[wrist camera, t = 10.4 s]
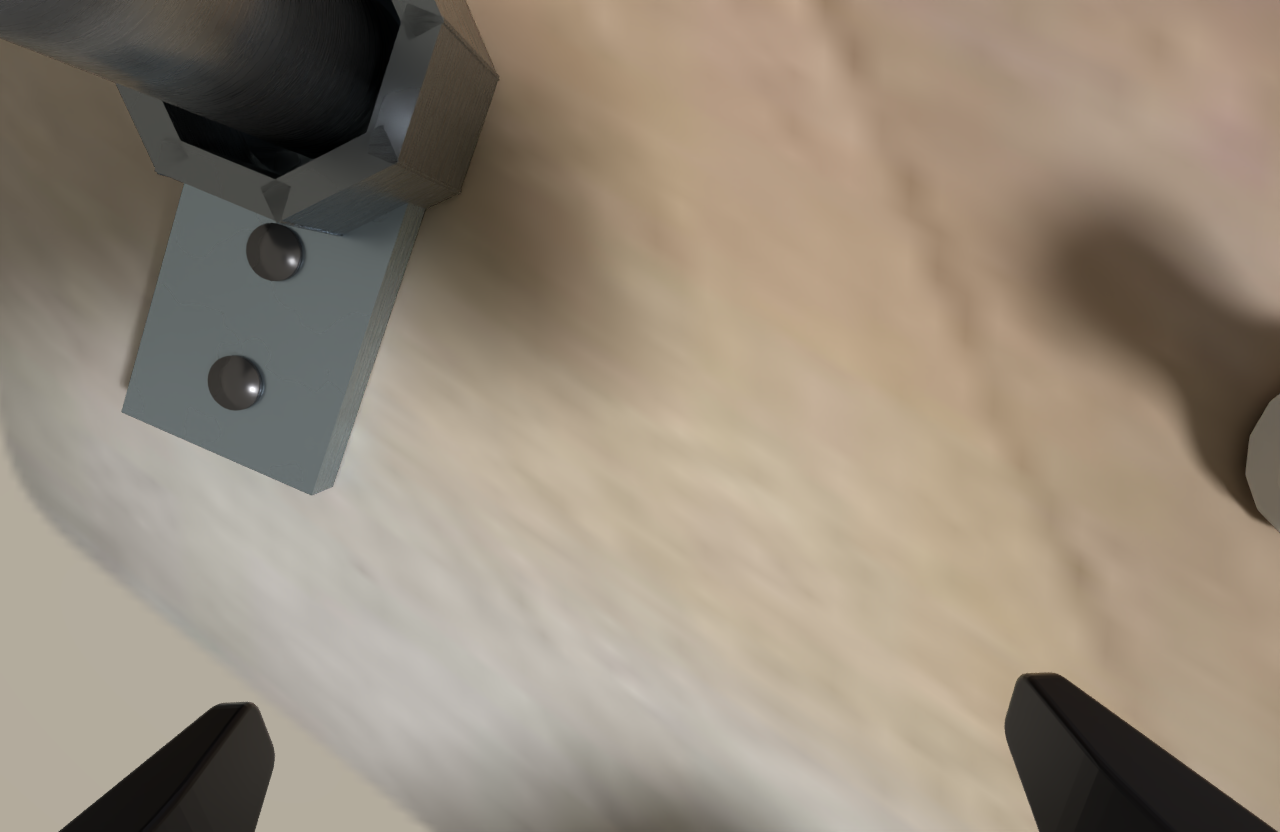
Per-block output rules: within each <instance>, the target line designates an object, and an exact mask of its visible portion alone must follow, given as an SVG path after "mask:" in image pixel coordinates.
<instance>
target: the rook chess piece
mask: <svg viewBox="0 0 1280 832" xmlns="http://www.w3.org/2000/svg"><path fill="white" fill-rule="evenodd" d="M1245 475H1246V478H1247V481H1248V484H1249V487H1250V490H1251V493H1252V496H1253V499H1254V501H1255V504H1256V507H1257V510H1258V511H1259V512H1260V513H1261V514H1262V515H1263V516H1264V517H1265V518H1266V519H1267V520H1268V521H1269V522H1270V523H1271V524H1272V525H1273V526H1274V527H1275V528H1276V529H1277V530H1278V531H1279V532H1280V394H1279V395H1277V396H1276V397H1275V398H1274V399H1272V400H1271V401H1270V402H1269V404H1268V406H1267V407H1266V409H1265V411H1264V412H1263V414H1262V416H1261V418H1260V419H1259V421H1258V423H1257V424H1256V426H1255V428H1254V430H1253V431H1252V433H1251V435H1250V437H1249V446H1248V455H1247V464H1246V472H1245Z"/></svg>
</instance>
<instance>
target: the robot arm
mask: <svg viewBox="0 0 1280 832" xmlns="http://www.w3.org/2000/svg"><path fill="white" fill-rule="evenodd" d="M1005 735H1006V740H1007V743H1008V746H1009V749H1010V752H1011V754H1012V757H1013V760H1014V763H1015V766H1016V768H1017V771H1018V774H1019V777H1020V780H1021V782H1022V785H1023V788H1024V791H1025V793H1026V796H1027V799H1028V802H1029V805H1030V807H1031V810H1032V813H1033V816H1034V819H1035V821H1036V824H1037V827H1038V830H1039V832H1278V831H1276V830H1275V829H1273V828H1272V827H1271V826H1269V825H1268V824H1267V823H1265V822H1264V821H1262V820H1261V819H1260V818H1258V817H1257V816H1255V815H1254V814H1253V813H1251V812H1250V811H1249V810H1247V809H1246V808H1244V807H1243V806H1242V805H1240V804H1239V803H1237V802H1236V801H1235V800H1233V799H1232V798H1231V797H1229V796H1228V795H1226V794H1225V793H1224V792H1222V791H1221V790H1219V789H1218V788H1217V787H1215V786H1214V785H1213V784H1211V783H1210V782H1208V781H1207V780H1206V779H1204V778H1203V777H1201V776H1200V775H1199V774H1197V773H1196V772H1195V771H1193V770H1192V769H1190V768H1189V767H1188V766H1186V765H1185V764H1183V763H1182V762H1181V761H1179V760H1178V759H1177V758H1175V757H1174V756H1172V755H1171V754H1170V753H1168V752H1167V751H1165V750H1164V749H1163V748H1161V747H1160V746H1159V745H1157V744H1156V743H1154V742H1153V741H1152V740H1150V739H1149V738H1147V737H1146V736H1145V735H1143V734H1142V733H1141V732H1139V731H1138V730H1136V729H1135V728H1134V727H1132V726H1131V725H1129V724H1128V723H1127V722H1125V721H1124V720H1122V719H1121V718H1120V717H1118V716H1117V715H1116V714H1114V713H1113V712H1111V711H1110V710H1109V709H1107V708H1106V707H1104V706H1103V705H1102V704H1100V703H1099V702H1098V701H1096V700H1095V699H1093V698H1092V697H1091V696H1089V695H1088V694H1086V693H1085V692H1084V691H1082V690H1081V689H1080V688H1078V687H1077V686H1075V685H1074V684H1073V683H1071V682H1070V681H1068V680H1067V679H1066V678H1064V677H1063V676H1061V675H1059V674H1056V673H1026V674H1022V675H1021V676H1020V677H1019V678H1018V679H1017V681H1016V684H1015V687H1014V691H1013V694H1012V698H1011V701H1010V704H1009V708H1008V711H1007V715H1006V718H1005ZM274 761H275V753H274V747H273V744H272V741H271V739H270V736H269V734H268V731H267V729H266V726H265V723H264V721H263V718H262V715H261V713H260V711H259V709H258V707H257V706H256V705H255V704H254V703H251V702H236V703H235V702H234V703H221V704H218V705H216V706H214V707H212V708H211V709H209V710H208V711H207V712H205V713H204V714H203V715H202V716H200V717H199V718H198V719H197V720H196V721H194V722H193V723H192V724H191V725H190V726H188V727H187V728H186V729H184V730H183V731H182V732H181V733H180V734H178V735H177V736H176V737H175V738H173V739H172V740H171V741H170V742H169V743H167V744H166V745H165V746H163V747H162V748H161V749H160V750H159V751H157V752H156V753H155V754H154V755H153V756H152V757H150V758H149V759H147V760H146V761H145V762H144V763H143V764H141V765H140V766H139V767H138V768H136V769H135V770H134V771H133V772H131V773H130V774H129V775H128V776H127V777H125V778H124V779H123V780H122V781H120V782H119V783H118V784H117V785H116V786H114V787H113V788H112V789H111V790H109V791H108V792H107V793H106V794H104V795H103V796H102V797H101V798H100V799H98V800H97V801H96V802H95V803H93V804H92V805H91V806H90V807H88V808H87V809H86V810H85V811H83V812H82V813H81V814H80V815H79V816H77V817H76V818H75V819H74V820H72V821H71V822H70V823H69V824H68V825H66V826H65V827H64V828H63V829H61V830H60V831H59V832H255V829H256V825H257V822H258V818H259V815H260V812H261V808H262V805H263V802H264V798H265V795H266V791H267V788H268V785H269V781H270V778H271V775H272V771H273V767H274Z"/></svg>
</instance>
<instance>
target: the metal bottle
mask: <svg viewBox="0 0 1280 832" xmlns="http://www.w3.org/2000/svg"><path fill="white" fill-rule="evenodd" d="M399 28H400V27H399V25H398V23H397V22H396V20H395V19H394V18H393V16H392V15H391V14H390V12H389V11H388V10H387V9H386V8H385V7H384V6H383V5H382V4H381V3H380V2H378V1H377V0H0V38H1V39H4V40H6V41H9V42H12V43H14V44H17V45H19V46H22V47H25V48H27V49H30V50H32V51H35V52H37V53H40V54H43V55H45V56H48V57H50V58H53V59H55V60H58V61H61V62H63V63H66V64H68V65H71V66H74V67H76V68H79V69H81V70H84V71H86V72H89V73H92V74H94V75H97V76H99V77H102V78H104V79H107V80H110V81H112V82H115V83H117V84H120V85H123V86H125V87H128V88H130V89H133V90H135V91H138V92H141V93H143V94H146V95H148V96H151V97H154V98H156V99H159V100H161V101H164V102H166V103H169V104H172V105H174V106H177V107H179V108H182V109H184V110H187V111H190V112H192V113H195V114H197V115H200V116H203V117H205V118H208V119H210V120H213V121H215V122H218V123H221V124H223V125H226V126H228V127H231V128H233V129H236V130H239V131H241V132H244V133H246V134H249V135H252V136H254V137H257V138H259V139H262V140H264V141H267V142H270V143H272V144H275V145H277V146H280V147H283V148H285V149H288V150H290V151H293V152H295V153H298V154H301V155H303V156H306V157H308V158H311V159H316V158H318V157H320V156H322V155H324V154H326V153H328V152H330V151H332V150H334V149H336V148H338V147H339V146H341V145H343V144H345V143H347V142H349V141H351V140H353V139H355V138H357V137H359V136H361V135H363V134H365V133H367V130H368V126H369V123H370V120H371V117H372V114H373V110H374V107H375V104H376V101H377V98H378V95H379V91H380V88H381V85H382V82H383V79H384V75H385V72H386V69H387V66H388V63H389V60H390V56H391V53H392V50H393V47H394V44H395V40H396V37H397V34H398V31H399Z"/></svg>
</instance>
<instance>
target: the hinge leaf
mask: <svg viewBox="0 0 1280 832" xmlns="http://www.w3.org/2000/svg"><path fill="white" fill-rule="evenodd" d="M377 1H378V2H380V3H381V4H382V5H383V6H384V7H385V8H386V9H387V10H388V11H389V12H390V14H391V15H392V16H393V18H394V19H395V20H396V22H397V23H398V25H399V27H400V28H399V31H398V34H397V37H396V40H395V44H394V47H393V50H392V53H391V56H390V60H389V63H388V66H387V69H386V72H385V75H384V79H383V82H382V85H381V88H380V91H379V95H378V98H377V101H376V104H375V107H374V110H373V114H372V117H371V120H370V123H369V126H368V130H367V133H365V134H363V135H361V136H359V137H357V138H355V139H353V140H351V141H349V142H347V143H345V144H343V145H341V146H339V147H338V148H336V149H334V150H332V151H330V152H328V153H326V154H324V155H322V156H320V157H318V158H316V159H311V158H308V157H306V156H303V155H301V154H298V153H295V152H293V151H290V150H288V149H285V148H283V147H280V146H277V145H275V144H272V143H270V142H267V141H264V140H262V139H259V138H257V137H254V136H252V135H249V134H246V133H244V132H241V131H239V130H236V129H233V128H231V127H228V126H226V125H223V124H221V123H218V122H215V121H213V120H210V119H208V118H205V117H203V116H200V115H197V114H195V113H192V112H190V111H187V110H184V109H182V108H179V107H177V106H174V105H172V104H169V103H166V102H164V101H161V100H159V99H156V98H154V97H151V96H148V95H146V94H143V93H141V92H138V91H135V90H133V89H130V88H128V87H125V86H123V85H120V84H117V83H116V85H117V88H118V90H119V92H120V94H121V96H122V98H123V100H124V103H125V105H126V107H127V109H128V111H129V113H130V115H131V118H132V120H133V122H134V124H135V126H136V128H137V130H138V133H139V135H140V137H141V139H142V141H143V143H144V146H145V148H146V150H147V152H148V154H149V156H150V158H151V161H152V163H153V165H154V167H155V171H156V172H157V173H158V174H160V175H164V176H167V177H171V178H173V179H175V180H178V181H180V182H183V183H184V186H183V190H182V193H181V197H180V201H179V204H178V208H177V212H176V215H175V219H174V222H173V226H172V230H171V233H170V237H169V241H168V244H167V248H166V252H165V255H164V259H163V262H162V266H161V270H160V273H159V277H158V281H157V284H156V288H155V292H154V295H153V299H152V303H151V306H150V310H149V313H148V317H147V321H146V324H145V328H144V332H143V335H142V339H141V343H140V346H139V350H138V353H137V357H136V361H135V364H134V368H133V372H132V375H131V379H130V383H129V386H128V390H127V394H126V397H125V401H124V404H123V408H122V413H125V414H127V415H129V416H131V417H134V418H136V419H138V420H140V421H143V422H145V423H147V424H150V425H152V426H154V427H156V428H159V429H161V430H163V431H166V432H168V433H170V434H172V435H175V436H177V437H179V438H182V439H184V440H186V441H188V442H191V443H193V444H195V445H198V446H200V447H202V448H204V449H207V450H209V451H211V452H213V453H216V454H218V455H220V456H223V457H225V458H227V459H229V460H232V461H234V462H236V463H239V464H241V465H243V466H245V467H248V468H250V469H252V470H255V471H257V472H259V473H261V474H264V475H266V476H268V477H271V478H273V479H275V480H277V481H280V482H282V483H284V484H287V485H289V486H291V487H293V488H296V489H298V490H300V491H302V492H305V493H307V494H309V495H314V494H317V493H319V492H321V491H324V490H326V489H328V488H331V487H333V484H334V481H335V478H336V475H337V472H338V469H339V466H340V463H341V460H342V457H343V454H344V451H345V448H346V445H347V442H348V439H349V436H350V433H351V430H352V427H353V424H354V421H355V418H356V415H357V412H358V409H359V406H360V403H361V400H362V397H363V394H364V391H365V388H366V385H367V382H368V379H369V376H370V373H371V370H372V367H373V364H374V361H375V358H376V356H377V353H378V350H379V347H380V344H381V341H382V338H383V335H384V332H385V329H386V326H387V323H388V320H389V317H390V314H391V311H392V308H393V305H394V302H395V299H396V296H397V293H398V290H399V287H400V284H401V281H402V278H403V275H404V272H405V269H406V266H407V263H408V260H409V257H410V254H411V251H412V248H413V245H414V242H415V239H416V236H417V233H418V230H419V227H420V224H421V221H422V218H423V215H424V212H425V209H427V208H429V207H431V206H433V205H435V204H437V203H439V202H441V201H443V200H445V199H447V198H449V197H451V196H454V195H456V194H459V193H460V192H461V187H462V184H463V181H464V178H465V175H466V172H467V169H468V166H469V163H470V160H471V158H472V155H473V152H474V149H475V146H476V143H477V140H478V137H479V134H480V131H481V128H482V125H483V122H484V119H485V116H486V114H487V111H488V108H489V105H490V102H491V99H492V96H493V93H494V90H495V87H496V84H497V81H499V75H498V74H497V73H496V71H495V69H494V66H493V64H492V62H491V59H490V57H489V55H488V52H487V50H486V47H485V45H484V43H483V40H482V38H481V36H480V33H479V31H478V29H477V26H476V24H475V21H474V19H473V17H472V14H471V12H470V10H469V7H468V5H467V3H466V0H377Z"/></svg>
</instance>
